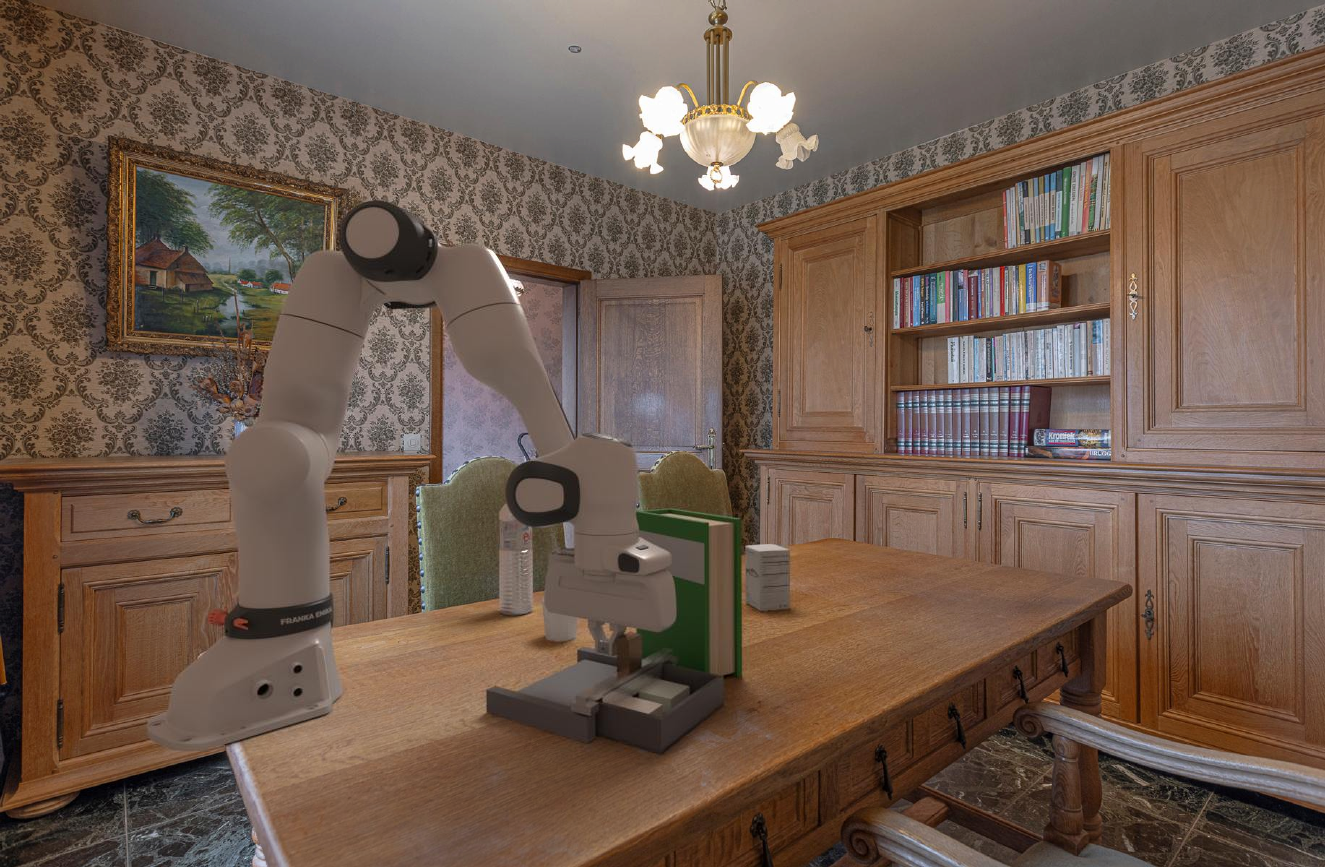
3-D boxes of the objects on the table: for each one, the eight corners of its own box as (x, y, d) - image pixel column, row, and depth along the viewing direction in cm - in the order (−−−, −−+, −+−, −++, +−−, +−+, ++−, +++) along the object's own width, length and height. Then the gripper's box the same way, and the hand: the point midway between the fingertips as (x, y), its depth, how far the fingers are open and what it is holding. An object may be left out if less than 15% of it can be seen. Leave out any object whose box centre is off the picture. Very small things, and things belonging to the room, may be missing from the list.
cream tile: (641, 735, 80) (640, 719, 80) (607, 725, 83) (607, 709, 83) (662, 720, 84) (662, 704, 84) (630, 711, 87) (630, 696, 87)
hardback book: (742, 676, 100) (741, 518, 100) (704, 687, 96) (704, 522, 96) (671, 646, 115) (671, 508, 115) (636, 655, 110) (635, 511, 110)
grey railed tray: (587, 743, 79) (587, 718, 79) (486, 712, 88) (486, 689, 88) (675, 686, 96) (675, 666, 96) (583, 665, 105) (583, 646, 105)
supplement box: (744, 603, 143) (744, 545, 143) (775, 600, 145) (774, 543, 145) (759, 611, 136) (759, 550, 136) (791, 608, 138) (791, 548, 138)
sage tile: (670, 714, 86) (670, 699, 86) (638, 706, 89) (638, 691, 88) (689, 700, 90) (689, 686, 90) (658, 693, 93) (658, 679, 93)
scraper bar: (590, 725, 78) (590, 660, 78) (571, 719, 80) (570, 656, 80) (678, 671, 96) (678, 618, 96) (660, 667, 98) (660, 615, 98)
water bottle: (519, 605, 142) (518, 489, 142) (539, 611, 138) (539, 491, 138) (492, 612, 137) (492, 492, 137) (513, 618, 132) (512, 493, 132)
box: (661, 754, 76) (661, 719, 76) (579, 730, 82) (579, 698, 82) (723, 705, 90) (723, 675, 90) (649, 687, 96) (649, 660, 96)
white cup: (572, 643, 116) (572, 604, 116) (536, 641, 118) (535, 602, 118) (585, 632, 123) (584, 594, 123) (550, 630, 124) (550, 592, 124)
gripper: (533, 548, 93) (534, 647, 93) (656, 563, 82) (657, 674, 82) (563, 542, 98) (563, 635, 98) (682, 555, 87) (682, 659, 87)
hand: (607, 653), depth 90 cm, fingers closed
